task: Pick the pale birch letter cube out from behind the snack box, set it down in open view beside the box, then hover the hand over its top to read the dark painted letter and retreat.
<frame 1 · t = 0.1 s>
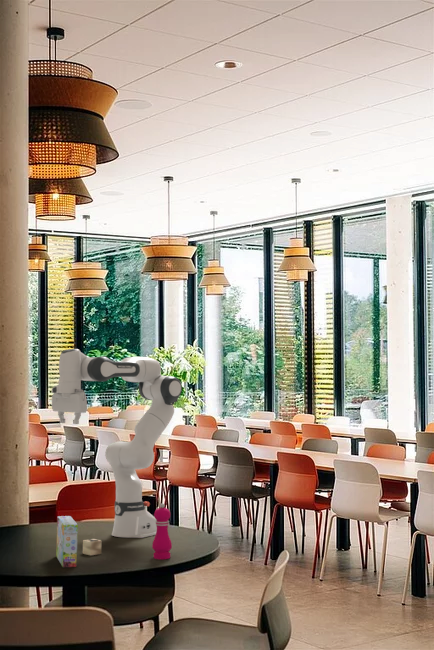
hand: (69, 423, 367), 48 cm above the table, tool pointing down, fingers open, 8 cm apart
pepper mill: (161, 558, 338), on the table
letter cube: (92, 553, 345), on the table
snack box: (66, 562, 330), on the table
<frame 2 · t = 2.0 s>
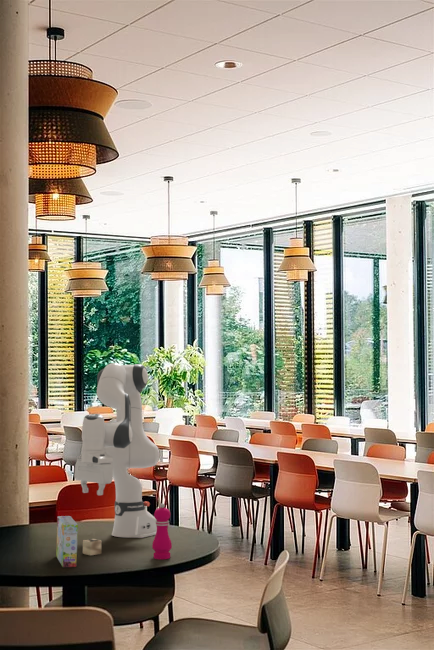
hand: (92, 493, 346), 22 cm above the table, tool pointing down, fingers open, 8 cm apart
nothing on the table moved.
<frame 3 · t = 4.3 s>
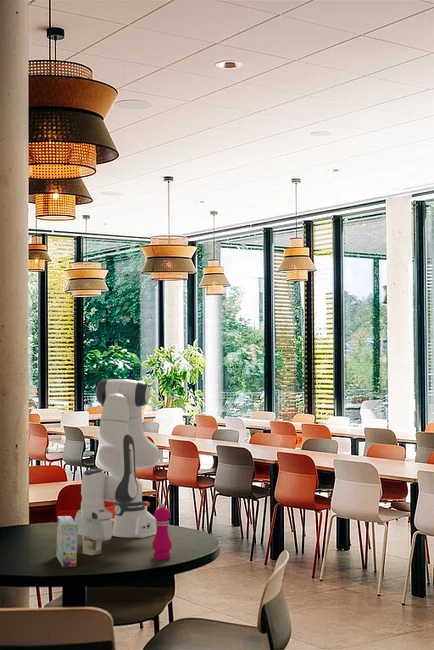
hand: (92, 549, 345), 2 cm above the table, tool pointing down, fingers closed on letter cube, 5 cm apart
letter cube: (92, 553, 345), on the table, touching gripper
everything else where it was.
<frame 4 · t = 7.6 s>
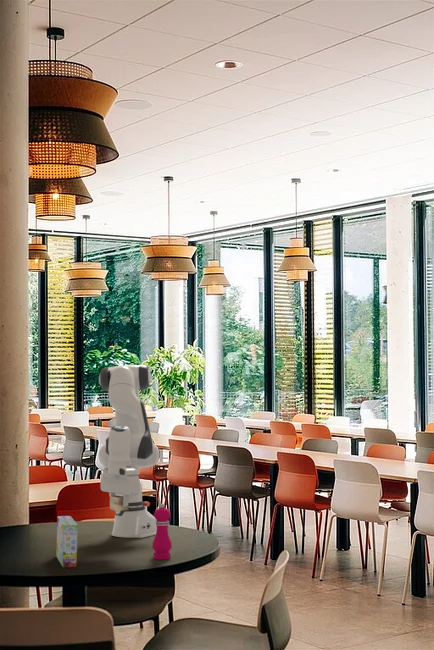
hand: (119, 505, 347), 18 cm above the table, tool pointing down, fingers closed on letter cube, 5 cm apart
letter cube: (119, 509, 347), point 16 cm above the table, touching gripper
everything else where it was.
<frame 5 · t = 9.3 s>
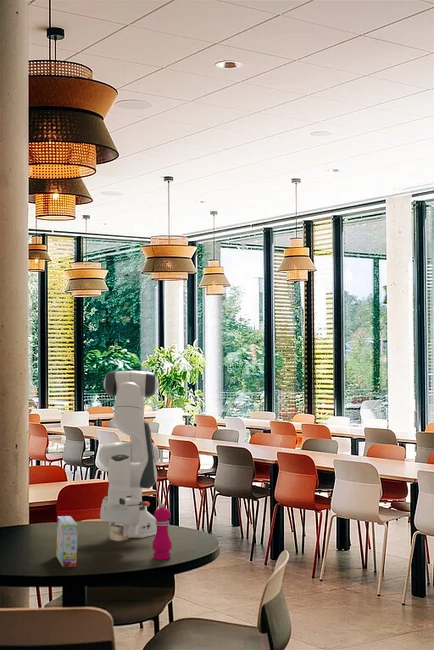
hand: (119, 535, 346), 7 cm above the table, tool pointing down, fingers closed on letter cube, 5 cm apart
letter cube: (119, 539, 346), point 5 cm above the table, touching gripper
everything else where it was.
when the fingers open (3 cm above the table, at t = 10.6 s): letter cube drops 2 cm, on the table.
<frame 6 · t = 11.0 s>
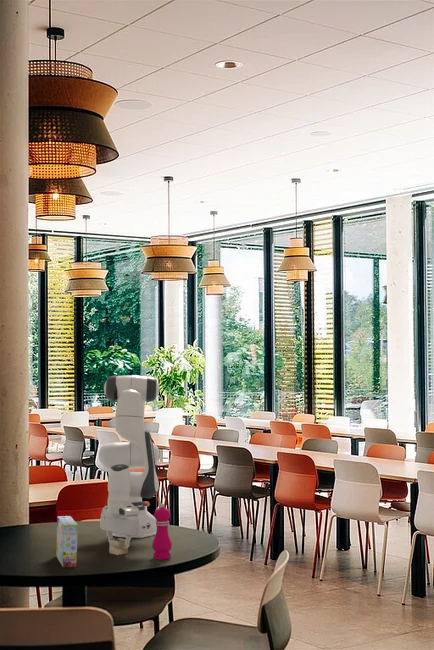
hand: (118, 544, 347), 3 cm above the table, tool pointing down, fingers open, 8 cm apart
letter cube: (118, 553, 346), on the table
everything else where it was.
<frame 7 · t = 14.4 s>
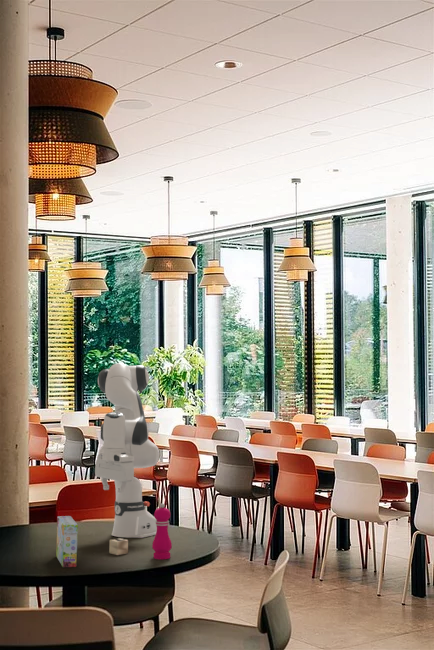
hand: (113, 491, 350), 23 cm above the table, tool pointing down, fingers open, 8 cm apart
nothing on the table moved.
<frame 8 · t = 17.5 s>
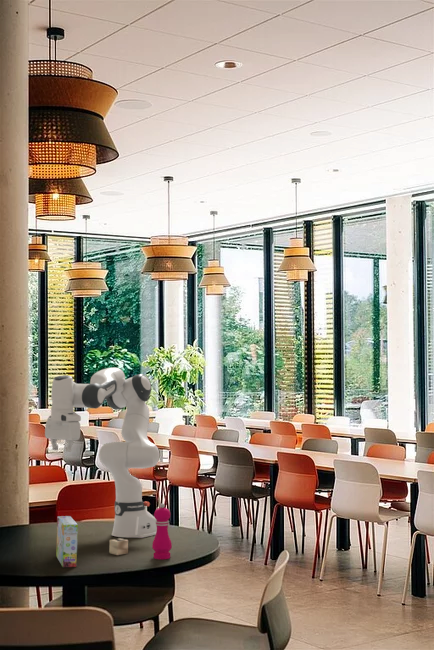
hand: (61, 451, 364), 37 cm above the table, tool pointing down, fingers open, 8 cm apart
nothing on the table moved.
at the end: letter cube inside the target area (0.1 cm from its centre), on the table; letter cube tilted 0°; snack box moved 0.3 cm from its start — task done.
